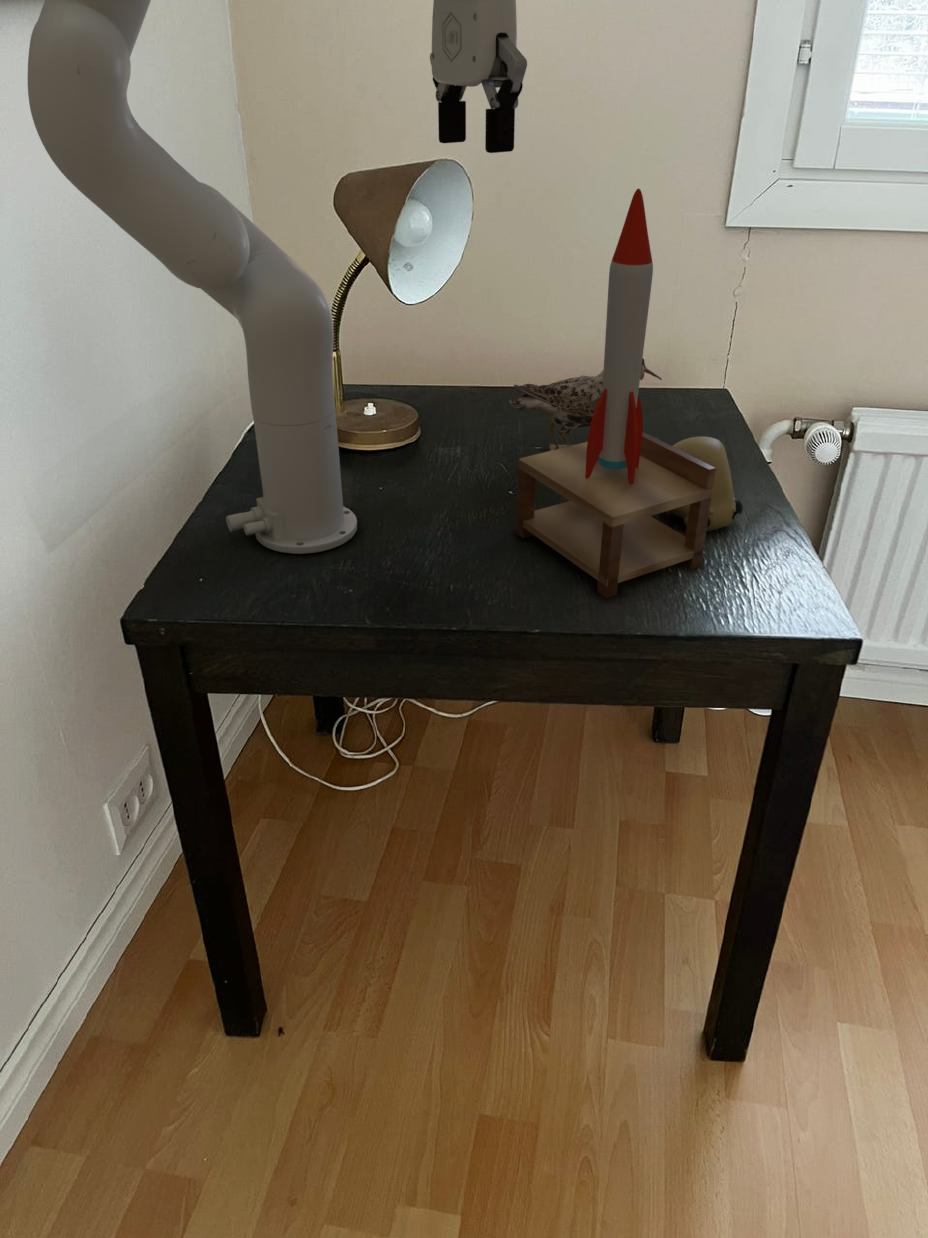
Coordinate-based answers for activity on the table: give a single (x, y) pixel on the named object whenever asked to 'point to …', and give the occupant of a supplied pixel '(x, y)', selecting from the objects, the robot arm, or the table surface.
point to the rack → (617, 510)
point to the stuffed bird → (566, 401)
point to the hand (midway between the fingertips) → (475, 146)
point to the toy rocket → (623, 350)
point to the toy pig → (722, 498)
